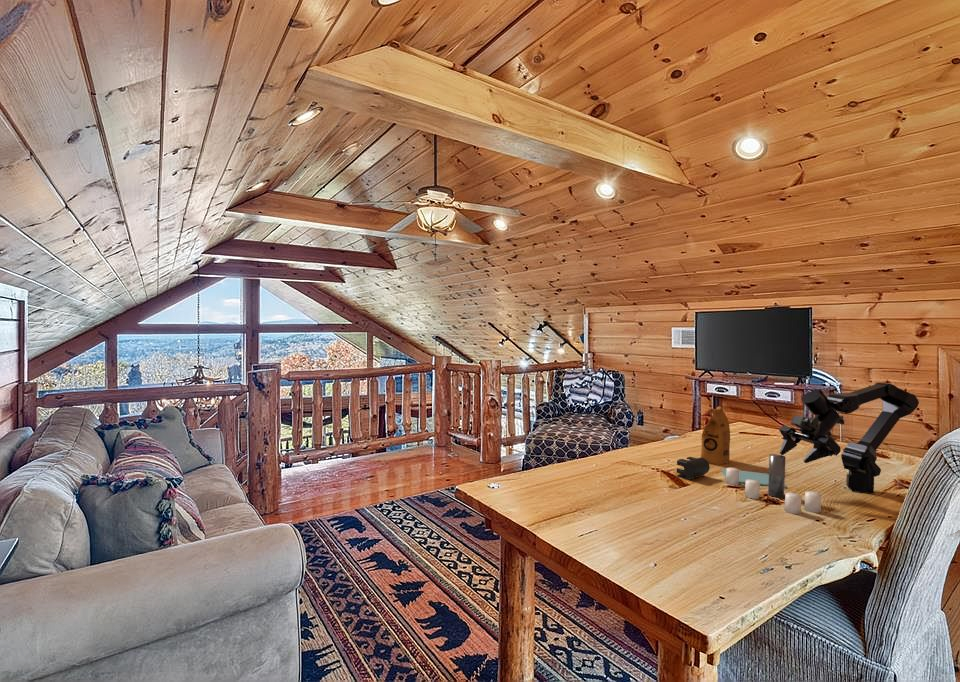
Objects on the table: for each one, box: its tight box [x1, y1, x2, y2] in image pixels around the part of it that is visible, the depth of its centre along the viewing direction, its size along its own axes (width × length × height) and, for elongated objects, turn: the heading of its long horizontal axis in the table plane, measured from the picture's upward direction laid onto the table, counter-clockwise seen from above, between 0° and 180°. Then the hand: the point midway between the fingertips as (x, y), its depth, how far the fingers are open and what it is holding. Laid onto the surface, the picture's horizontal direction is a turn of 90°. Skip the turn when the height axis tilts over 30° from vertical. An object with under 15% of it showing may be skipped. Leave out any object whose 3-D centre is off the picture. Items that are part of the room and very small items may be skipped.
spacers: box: [725, 467, 822, 515], centre depth 152 cm, size 14×29×5 cm, turn 11°
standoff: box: [767, 453, 787, 499], centre depth 152 cm, size 4×4×13 cm
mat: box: [720, 468, 788, 489], centre depth 169 cm, size 18×14×1 cm
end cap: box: [676, 456, 711, 480], centre depth 170 cm, size 10×7×7 cm
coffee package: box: [700, 405, 731, 466], centre depth 191 cm, size 10×12×22 cm
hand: (792, 458), depth 153 cm, fingers open, 9 cm apart
